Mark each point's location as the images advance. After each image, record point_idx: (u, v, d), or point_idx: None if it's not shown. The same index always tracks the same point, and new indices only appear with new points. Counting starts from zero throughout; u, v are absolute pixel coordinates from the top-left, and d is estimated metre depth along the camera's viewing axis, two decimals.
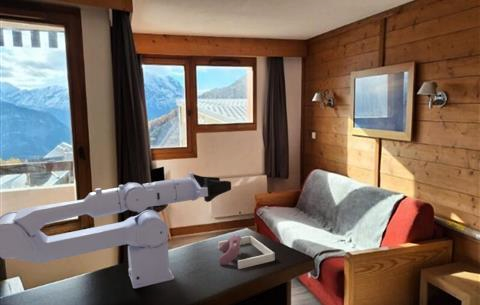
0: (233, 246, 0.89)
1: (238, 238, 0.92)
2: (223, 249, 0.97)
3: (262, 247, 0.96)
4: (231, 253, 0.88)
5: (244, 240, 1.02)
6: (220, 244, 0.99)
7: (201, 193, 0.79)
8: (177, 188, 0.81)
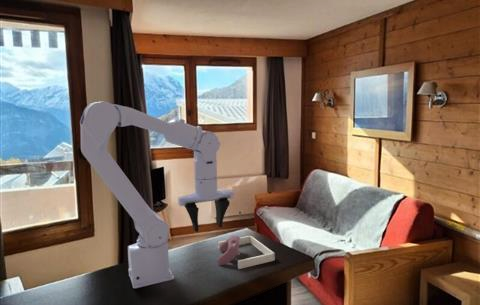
0: (232, 246, 0.89)
1: (237, 238, 0.92)
2: (222, 249, 0.97)
3: (262, 247, 0.96)
4: (230, 253, 0.88)
5: (244, 240, 1.02)
6: (220, 244, 0.99)
7: None
8: None
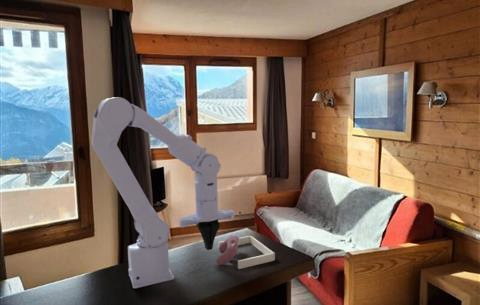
0: (231, 246, 0.89)
1: (236, 238, 0.92)
2: (221, 249, 0.97)
3: (262, 247, 0.96)
4: (229, 253, 0.88)
5: (244, 240, 1.02)
6: None
7: None
8: None
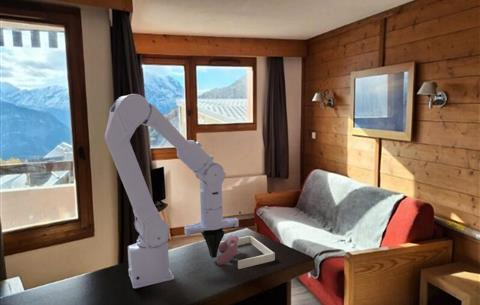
0: (231, 246, 0.89)
1: (236, 238, 0.92)
2: (221, 249, 0.97)
3: (262, 247, 0.96)
4: (229, 253, 0.88)
5: (244, 240, 1.02)
6: None
7: None
8: None
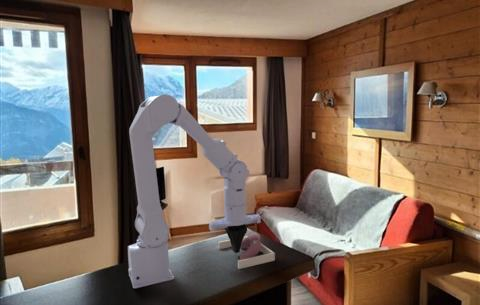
0: (254, 243, 0.90)
1: (258, 235, 0.94)
2: (242, 246, 0.98)
3: (262, 247, 0.96)
4: (253, 250, 0.90)
5: None
6: (220, 244, 0.99)
7: None
8: None
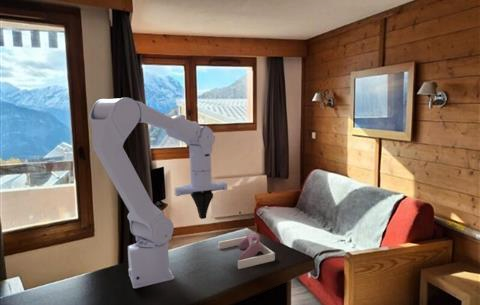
0: (253, 243, 0.90)
1: (257, 235, 0.94)
2: (241, 247, 0.98)
3: (262, 247, 0.96)
4: (252, 250, 0.90)
5: None
6: (220, 244, 0.99)
7: None
8: None
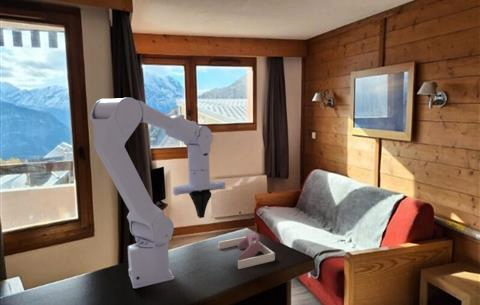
0: (253, 243, 0.90)
1: (256, 235, 0.94)
2: (240, 247, 0.98)
3: (262, 247, 0.96)
4: (252, 250, 0.90)
5: None
6: (220, 244, 0.99)
7: None
8: None
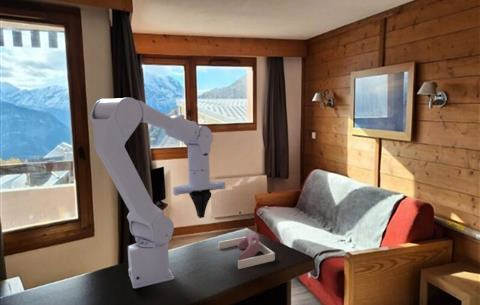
0: (253, 243, 0.90)
1: (256, 235, 0.94)
2: (240, 247, 0.98)
3: (262, 247, 0.96)
4: (251, 250, 0.90)
5: None
6: (220, 244, 0.99)
7: None
8: None
